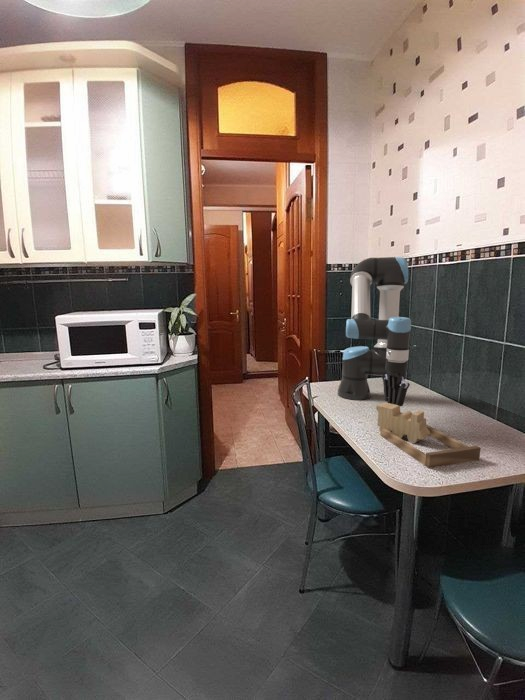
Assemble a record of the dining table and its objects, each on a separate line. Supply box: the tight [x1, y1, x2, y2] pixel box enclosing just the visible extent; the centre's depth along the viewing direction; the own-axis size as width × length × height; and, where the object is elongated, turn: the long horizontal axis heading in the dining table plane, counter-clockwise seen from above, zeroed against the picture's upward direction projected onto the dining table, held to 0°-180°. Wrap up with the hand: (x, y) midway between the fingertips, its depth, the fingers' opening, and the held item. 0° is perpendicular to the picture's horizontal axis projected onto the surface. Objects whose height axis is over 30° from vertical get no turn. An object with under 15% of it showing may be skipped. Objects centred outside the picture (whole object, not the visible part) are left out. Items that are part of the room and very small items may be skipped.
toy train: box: [375, 401, 430, 444], centre depth 120 cm, size 6×17×10 cm, turn 44°
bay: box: [379, 424, 482, 469], centre depth 112 cm, size 24×18×4 cm
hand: (392, 422), depth 130 cm, fingers closed
